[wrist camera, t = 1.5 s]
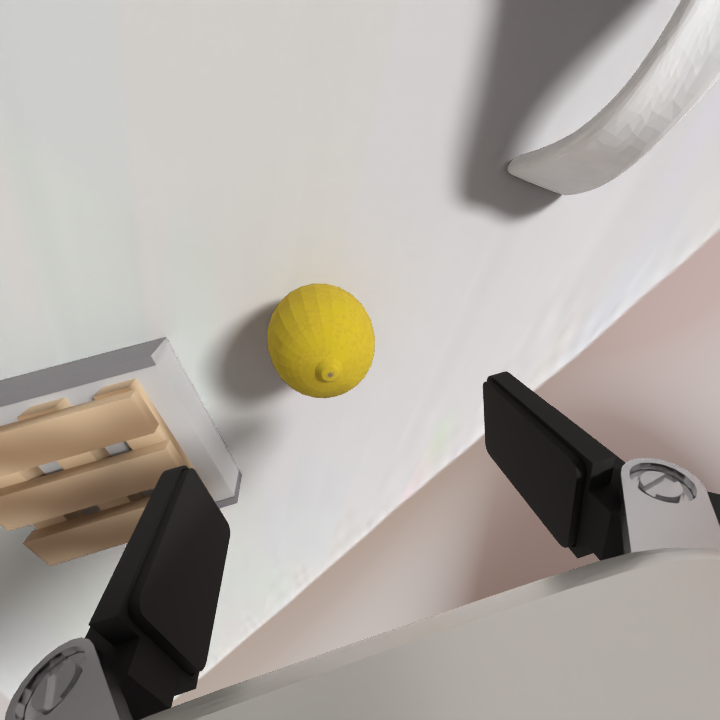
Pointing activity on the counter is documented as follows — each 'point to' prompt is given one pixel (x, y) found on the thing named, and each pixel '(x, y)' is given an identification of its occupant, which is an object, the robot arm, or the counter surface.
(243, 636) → the counter surface
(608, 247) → the counter surface
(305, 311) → the lemon
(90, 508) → the dock
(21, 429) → the pallet
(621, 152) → the spoon rest
